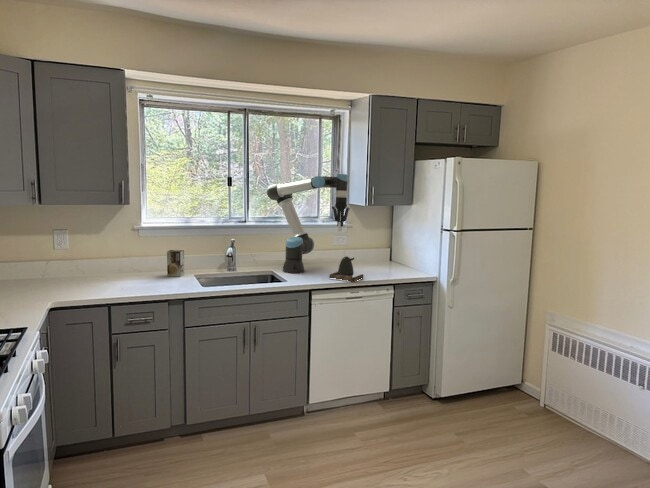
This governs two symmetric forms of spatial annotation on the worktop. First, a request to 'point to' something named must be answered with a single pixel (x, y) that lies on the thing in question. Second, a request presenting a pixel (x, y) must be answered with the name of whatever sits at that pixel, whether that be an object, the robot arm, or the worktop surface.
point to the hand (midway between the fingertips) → (339, 231)
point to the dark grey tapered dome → (346, 267)
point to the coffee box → (175, 263)
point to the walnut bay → (345, 277)
